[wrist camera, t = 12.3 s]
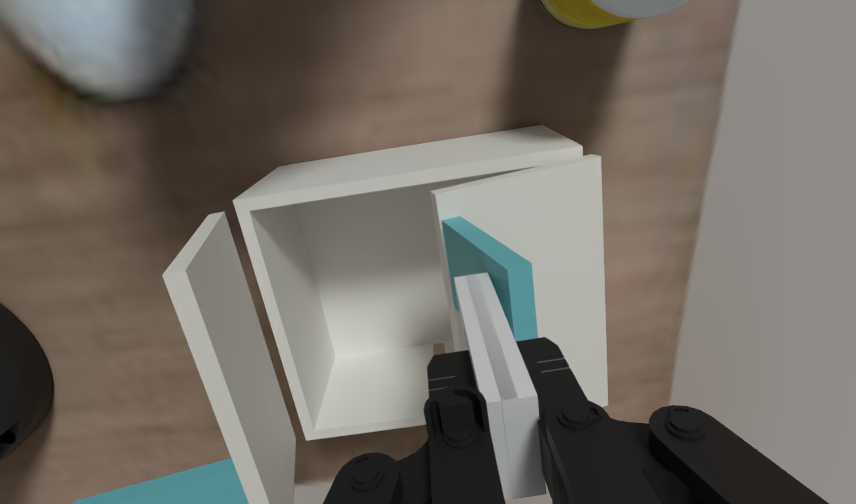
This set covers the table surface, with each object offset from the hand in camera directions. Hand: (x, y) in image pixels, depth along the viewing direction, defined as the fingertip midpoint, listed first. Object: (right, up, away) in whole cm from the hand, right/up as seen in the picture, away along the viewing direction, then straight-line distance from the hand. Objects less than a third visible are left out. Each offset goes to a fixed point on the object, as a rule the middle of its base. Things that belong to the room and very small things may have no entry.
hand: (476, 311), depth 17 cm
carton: (-2, +1, +16) cm, 16 cm away
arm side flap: (-9, -3, +5) cm, 11 cm away
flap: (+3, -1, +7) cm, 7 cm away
